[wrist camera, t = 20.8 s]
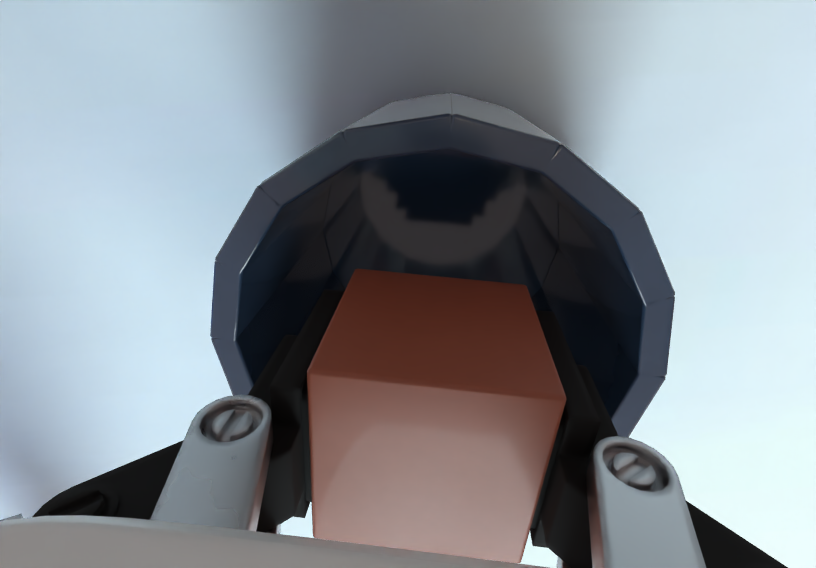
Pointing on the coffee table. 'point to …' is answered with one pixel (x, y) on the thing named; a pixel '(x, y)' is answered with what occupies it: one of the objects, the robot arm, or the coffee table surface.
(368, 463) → the block
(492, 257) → the crock
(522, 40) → the coffee table surface
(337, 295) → the robot arm
